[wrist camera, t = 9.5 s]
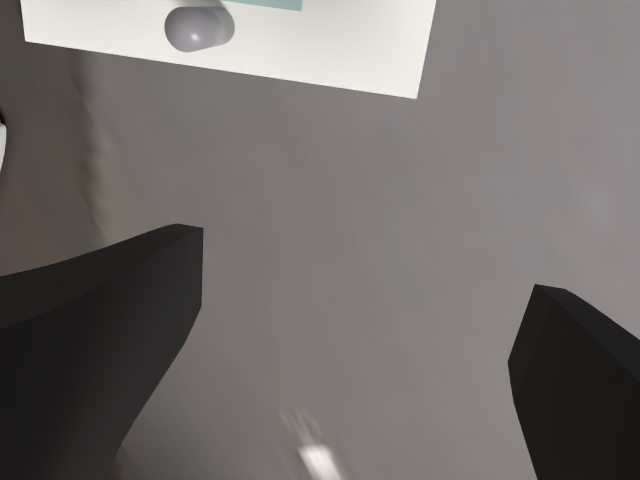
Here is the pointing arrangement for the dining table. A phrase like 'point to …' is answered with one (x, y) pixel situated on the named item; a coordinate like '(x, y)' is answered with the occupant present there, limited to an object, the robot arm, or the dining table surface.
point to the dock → (253, 36)
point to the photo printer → (2, 142)
